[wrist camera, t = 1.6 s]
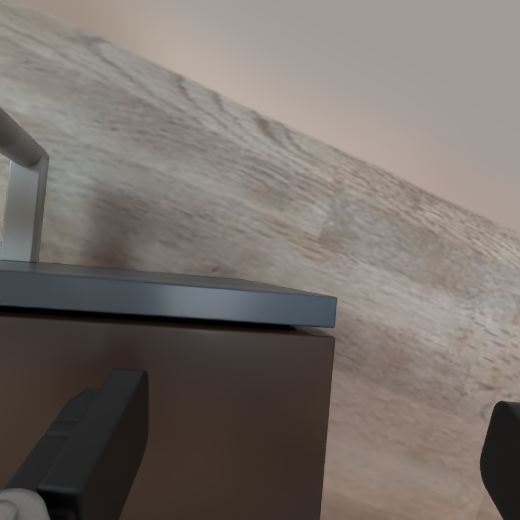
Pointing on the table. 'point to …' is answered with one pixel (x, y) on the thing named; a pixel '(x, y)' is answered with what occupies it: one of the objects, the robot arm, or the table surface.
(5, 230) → the door
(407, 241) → the table surface
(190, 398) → the cupboard
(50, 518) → the robot arm
